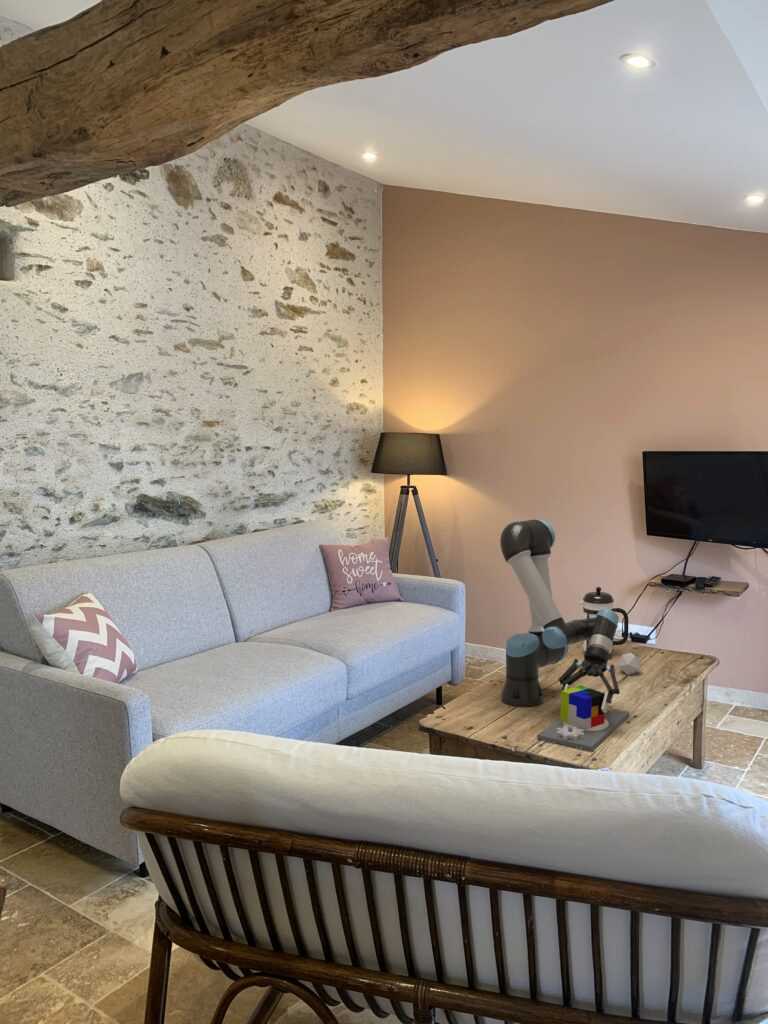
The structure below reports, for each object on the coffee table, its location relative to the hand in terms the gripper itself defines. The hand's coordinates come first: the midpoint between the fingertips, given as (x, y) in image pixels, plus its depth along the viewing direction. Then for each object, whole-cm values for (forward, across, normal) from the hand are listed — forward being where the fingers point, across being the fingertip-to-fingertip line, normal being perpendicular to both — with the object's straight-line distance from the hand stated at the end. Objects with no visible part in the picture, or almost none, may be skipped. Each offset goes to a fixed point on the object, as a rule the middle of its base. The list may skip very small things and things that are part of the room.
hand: (582, 707), depth 267 cm
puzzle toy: (+3, 0, -5) cm, 6 cm away
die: (-43, +5, -54) cm, 69 cm away
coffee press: (-56, +23, -68) cm, 91 cm away
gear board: (+4, 0, -7) cm, 8 cm away
